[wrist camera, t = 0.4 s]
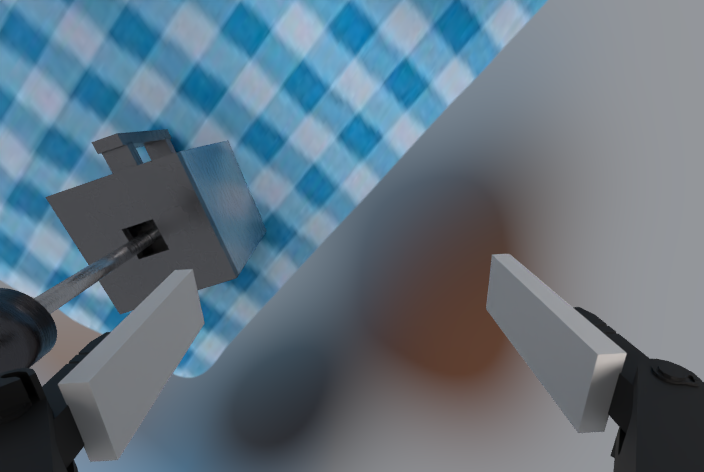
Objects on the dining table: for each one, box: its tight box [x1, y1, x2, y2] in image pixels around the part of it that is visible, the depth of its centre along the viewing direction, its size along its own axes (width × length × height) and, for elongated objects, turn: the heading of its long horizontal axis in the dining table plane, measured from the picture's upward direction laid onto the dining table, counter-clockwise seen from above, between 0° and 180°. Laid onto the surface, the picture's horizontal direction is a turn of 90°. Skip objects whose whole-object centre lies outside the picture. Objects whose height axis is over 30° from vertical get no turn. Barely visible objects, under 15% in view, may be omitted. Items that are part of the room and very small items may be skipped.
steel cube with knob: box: [46, 129, 266, 314], centre depth 37 cm, size 15×12×14 cm
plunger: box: [0, 219, 168, 373], centre depth 25 cm, size 9×9×19 cm
